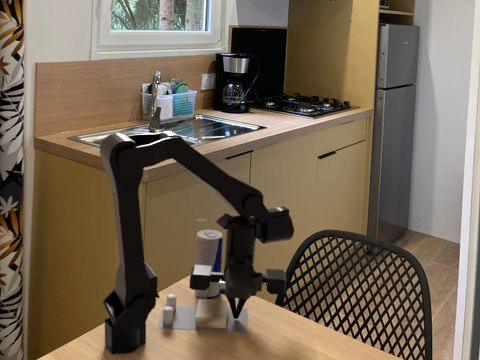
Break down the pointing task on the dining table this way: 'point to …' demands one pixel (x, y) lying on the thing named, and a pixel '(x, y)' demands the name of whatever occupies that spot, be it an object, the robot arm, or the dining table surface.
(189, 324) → the board
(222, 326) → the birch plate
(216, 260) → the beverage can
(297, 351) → the dining table surface
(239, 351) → the dining table surface
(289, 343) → the dining table surface
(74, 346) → the dining table surface
